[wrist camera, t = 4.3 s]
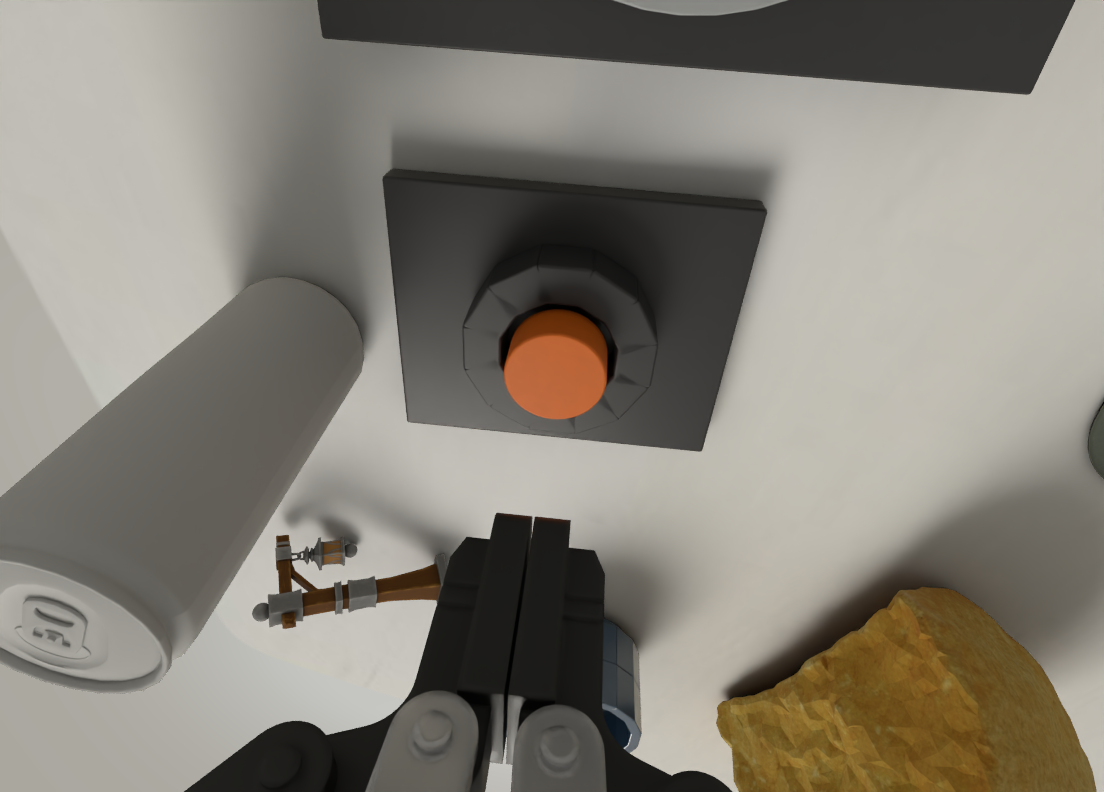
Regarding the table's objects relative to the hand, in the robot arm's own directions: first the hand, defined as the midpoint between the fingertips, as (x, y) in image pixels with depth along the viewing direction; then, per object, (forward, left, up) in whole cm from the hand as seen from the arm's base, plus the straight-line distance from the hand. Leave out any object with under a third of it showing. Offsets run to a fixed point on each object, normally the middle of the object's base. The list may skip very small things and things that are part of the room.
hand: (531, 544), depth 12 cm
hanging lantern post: (-8, -14, -10) cm, 19 cm away
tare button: (0, 0, -8) cm, 8 cm away
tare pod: (0, 0, -10) cm, 10 cm away
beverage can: (-9, -2, -10) cm, 14 cm away
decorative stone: (+17, -19, -10) cm, 28 cm away
